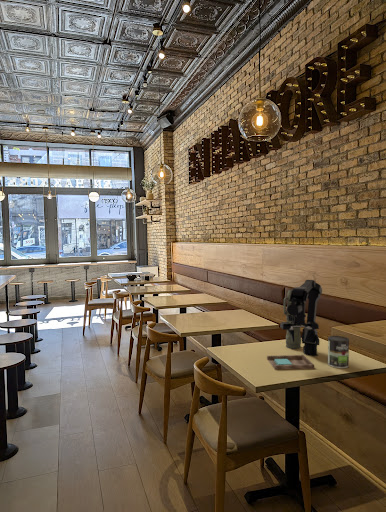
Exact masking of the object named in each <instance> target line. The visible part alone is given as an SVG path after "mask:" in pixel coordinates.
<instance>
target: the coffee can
mask: <svg viewBox="0 0 386 512" xmlns="http://www.w3.org/2000/svg"><path fill="white" fill-rule="evenodd" d="M327 341H328V342H327V349H328V350H327V365H328V366H329V367H332V368H336V369H346V368H348V367H349V362H350V361H349V359H350V358H349V357H350V355H349V354H350V338H348V337H345V336H340V335H330V336H328V337H327Z"/></svg>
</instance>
